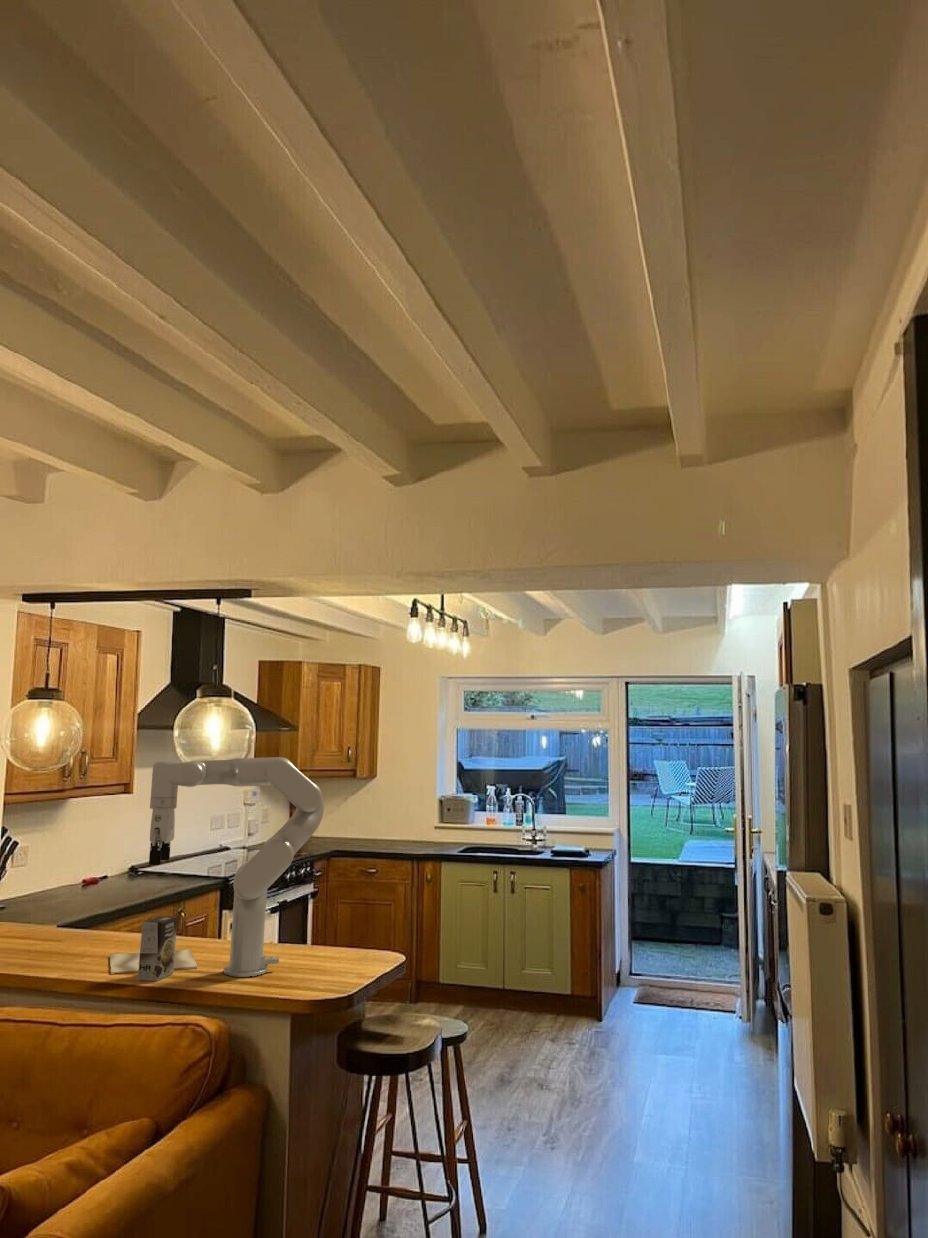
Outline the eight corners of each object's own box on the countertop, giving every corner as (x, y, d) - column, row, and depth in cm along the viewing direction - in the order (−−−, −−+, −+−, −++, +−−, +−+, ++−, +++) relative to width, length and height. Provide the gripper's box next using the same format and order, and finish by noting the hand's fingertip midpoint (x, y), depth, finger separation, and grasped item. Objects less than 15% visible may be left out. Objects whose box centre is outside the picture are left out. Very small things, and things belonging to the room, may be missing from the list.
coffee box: (157, 982, 245) (161, 922, 247) (136, 980, 246) (141, 920, 248) (174, 973, 254) (178, 916, 256) (154, 972, 255) (158, 914, 257)
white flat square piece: (190, 951, 280) (190, 949, 280) (197, 968, 260) (197, 966, 260) (109, 956, 271) (110, 954, 271) (110, 974, 251) (110, 972, 251)
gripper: (168, 805, 251) (164, 867, 249) (183, 801, 268) (179, 858, 266) (142, 805, 250) (137, 866, 248) (158, 801, 268) (154, 858, 265)
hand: (159, 862), depth 257 cm, fingers open, 9 cm apart
